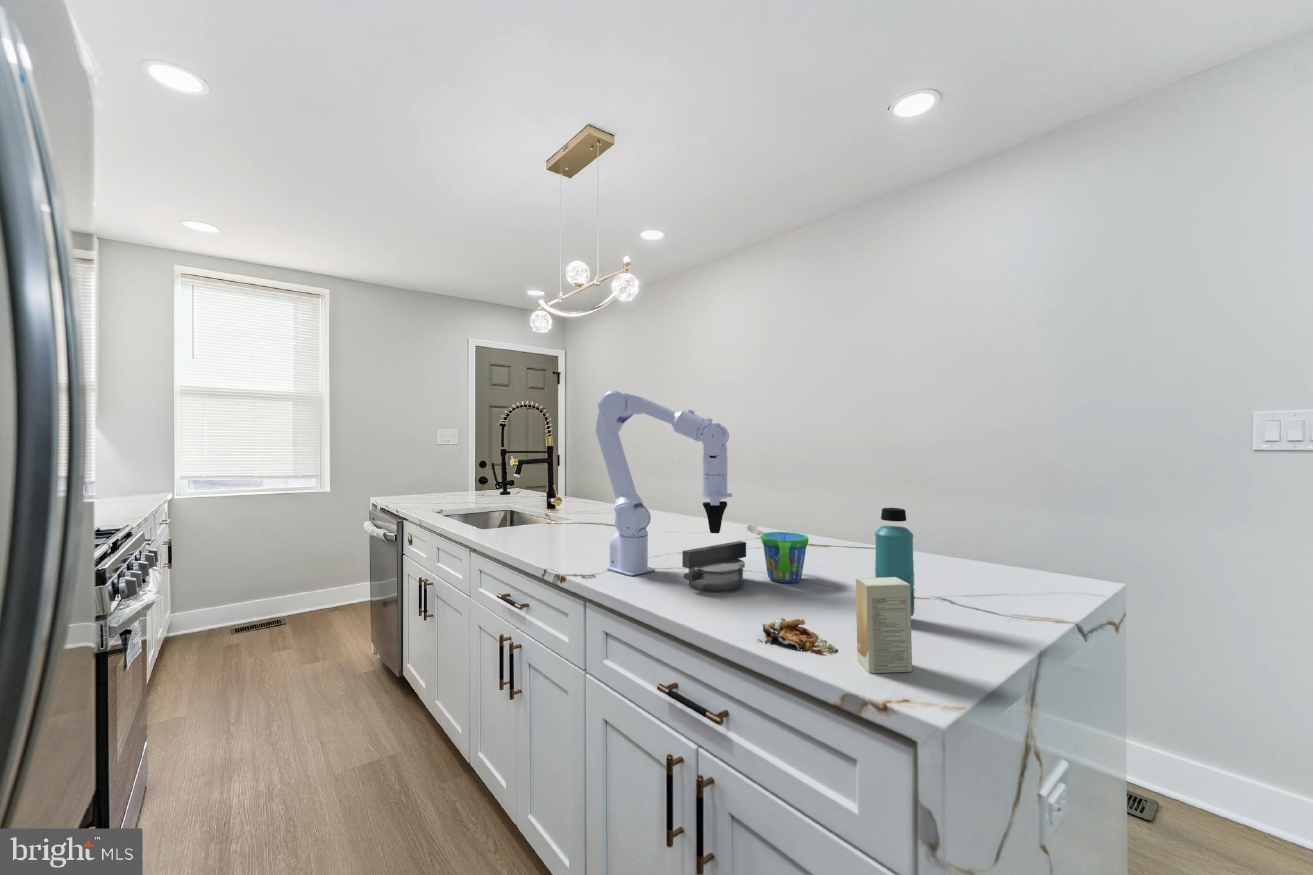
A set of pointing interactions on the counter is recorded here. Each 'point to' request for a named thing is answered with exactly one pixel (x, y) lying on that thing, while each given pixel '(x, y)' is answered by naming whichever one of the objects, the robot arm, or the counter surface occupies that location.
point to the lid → (716, 557)
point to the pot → (715, 580)
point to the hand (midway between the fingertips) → (714, 532)
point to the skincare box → (883, 624)
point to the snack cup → (784, 555)
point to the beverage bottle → (895, 550)
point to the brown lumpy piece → (796, 636)
